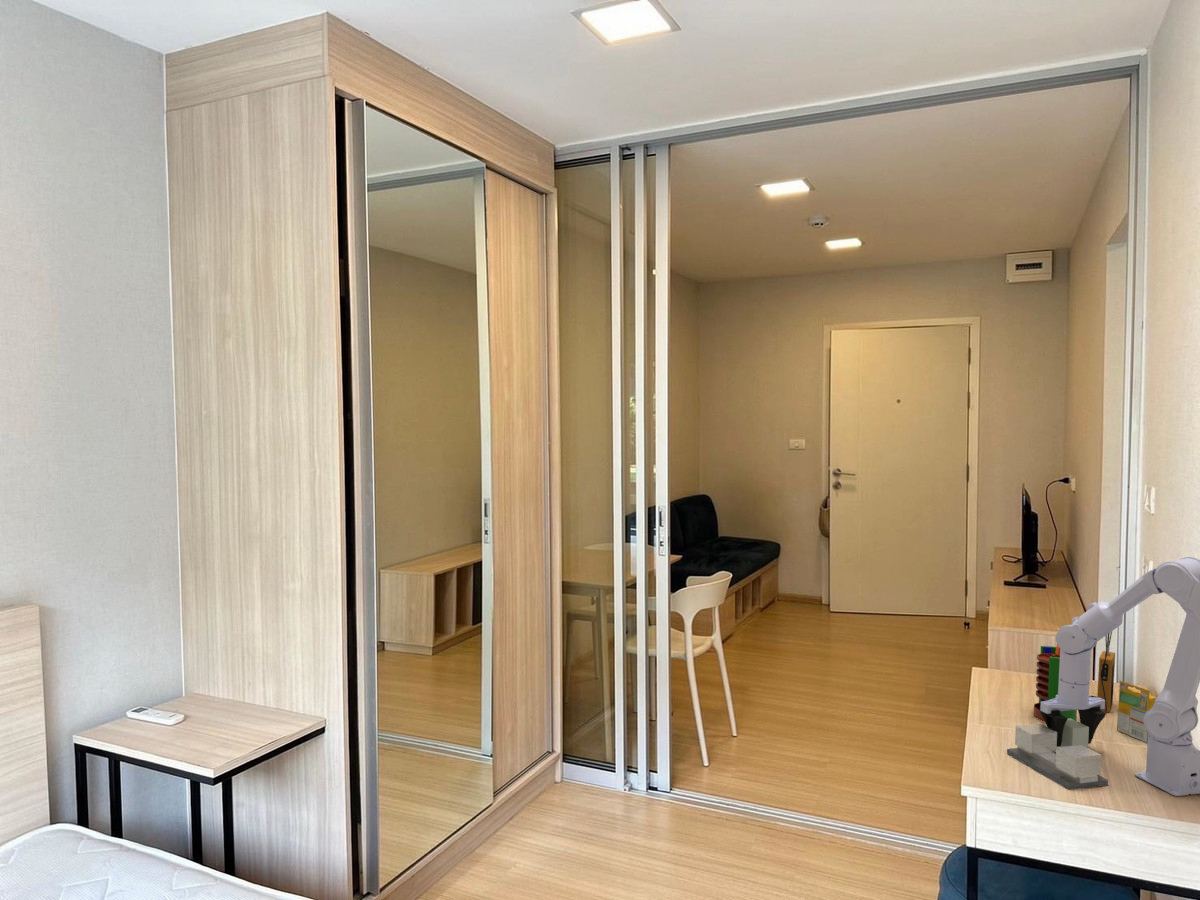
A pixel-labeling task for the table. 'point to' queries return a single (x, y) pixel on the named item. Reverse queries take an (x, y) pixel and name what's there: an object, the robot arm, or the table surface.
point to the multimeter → (1106, 676)
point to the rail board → (1057, 758)
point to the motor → (1049, 680)
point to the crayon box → (1133, 710)
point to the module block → (1074, 734)
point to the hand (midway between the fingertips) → (1070, 743)
